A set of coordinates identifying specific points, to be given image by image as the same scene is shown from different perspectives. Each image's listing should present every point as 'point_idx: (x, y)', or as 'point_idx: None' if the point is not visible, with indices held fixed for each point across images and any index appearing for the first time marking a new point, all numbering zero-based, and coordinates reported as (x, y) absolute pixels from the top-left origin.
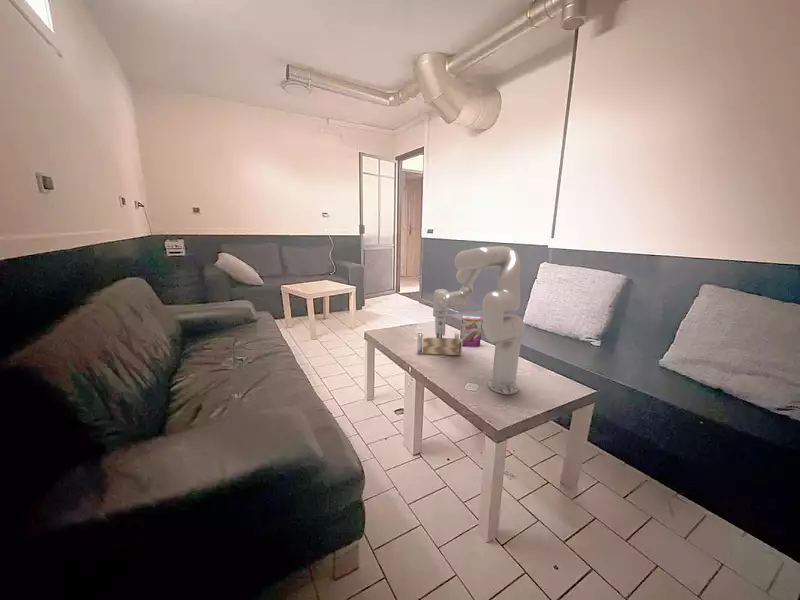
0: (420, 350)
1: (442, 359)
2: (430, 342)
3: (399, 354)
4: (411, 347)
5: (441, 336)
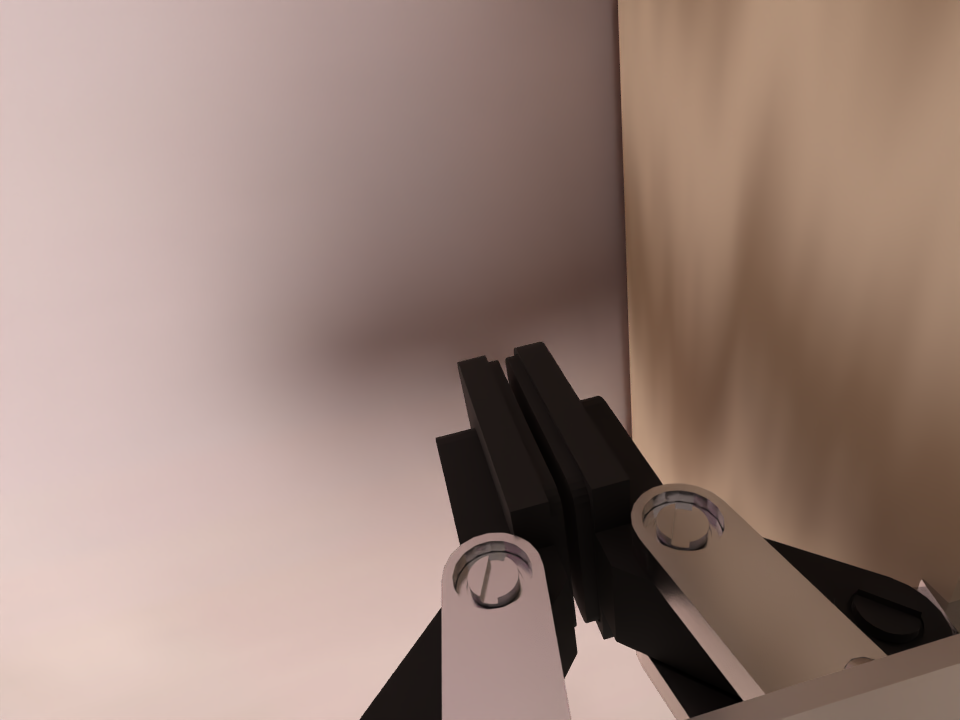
0: None
1: None
2: None
3: None
4: None
5: (847, 635)
